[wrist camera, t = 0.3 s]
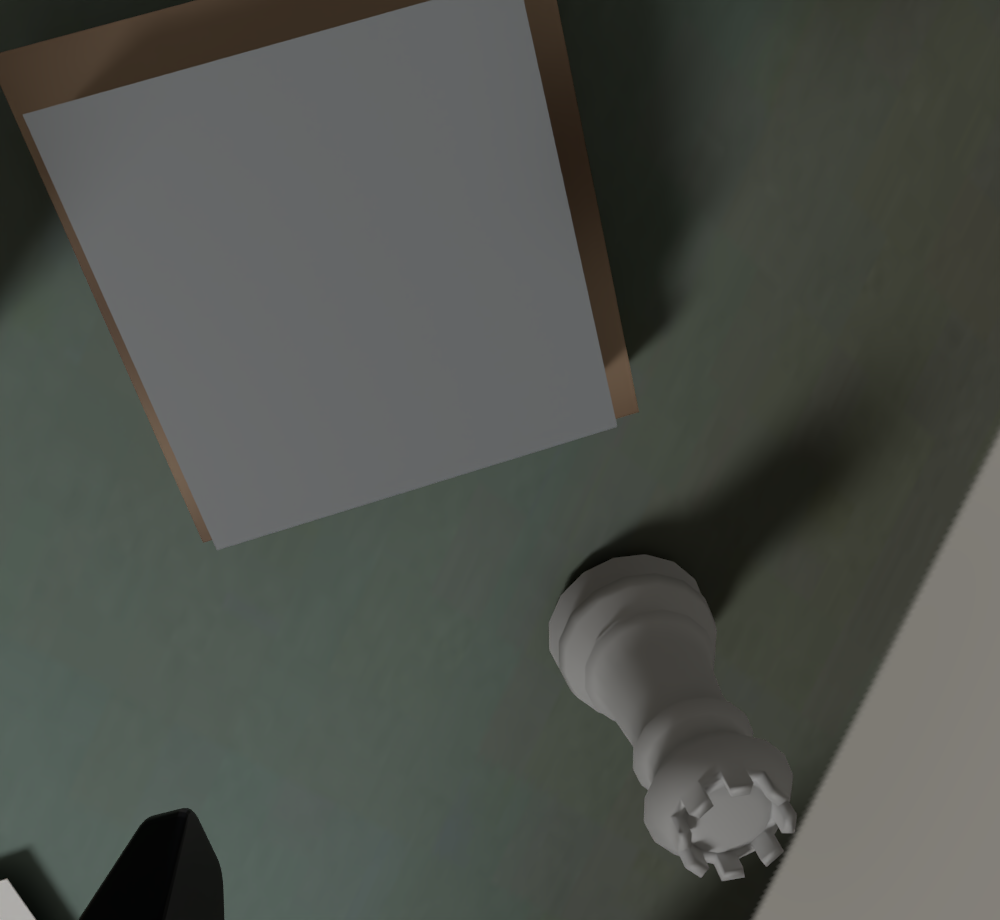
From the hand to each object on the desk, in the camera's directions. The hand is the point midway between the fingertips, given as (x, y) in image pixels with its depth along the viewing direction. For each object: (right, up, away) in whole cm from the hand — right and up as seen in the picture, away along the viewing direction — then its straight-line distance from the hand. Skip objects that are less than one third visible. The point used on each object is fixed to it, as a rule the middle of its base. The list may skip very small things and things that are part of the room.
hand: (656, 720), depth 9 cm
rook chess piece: (+2, -2, +17) cm, 17 cm away
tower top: (-5, +7, +9) cm, 12 cm away
